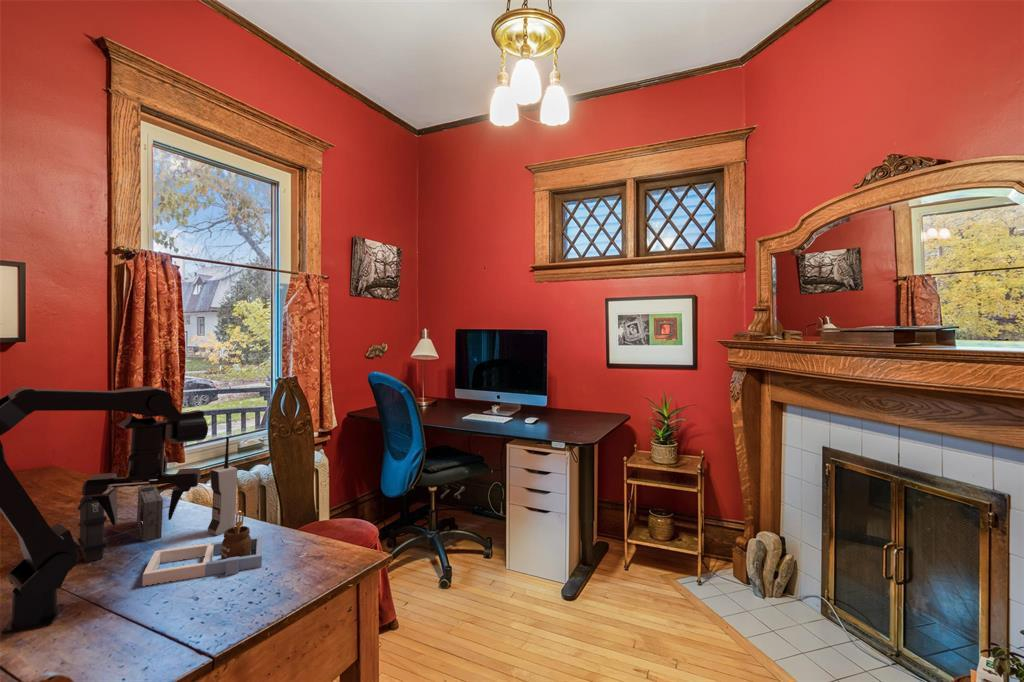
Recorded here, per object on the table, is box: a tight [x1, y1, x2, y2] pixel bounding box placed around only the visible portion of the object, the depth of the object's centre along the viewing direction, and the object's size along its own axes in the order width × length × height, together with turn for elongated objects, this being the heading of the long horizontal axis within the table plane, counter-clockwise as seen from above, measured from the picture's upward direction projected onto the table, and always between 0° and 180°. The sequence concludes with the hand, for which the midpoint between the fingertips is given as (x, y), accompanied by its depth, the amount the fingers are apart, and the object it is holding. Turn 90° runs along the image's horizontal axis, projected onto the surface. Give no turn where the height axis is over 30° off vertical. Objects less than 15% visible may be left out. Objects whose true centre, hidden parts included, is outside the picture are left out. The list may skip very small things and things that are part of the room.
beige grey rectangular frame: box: [142, 535, 264, 587], centre depth 105 cm, size 14×22×3 cm, turn 118°
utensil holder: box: [220, 509, 252, 560], centre depth 107 cm, size 6×6×12 cm
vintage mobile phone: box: [207, 436, 238, 536], centre depth 122 cm, size 4×5×25 cm
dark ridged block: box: [77, 495, 107, 563], centre depth 108 cm, size 4×13×15 cm, turn 49°
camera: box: [136, 484, 164, 542], centre depth 121 cm, size 16×4×10 cm, turn 44°
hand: (142, 521), depth 96 cm, fingers open, 9 cm apart
